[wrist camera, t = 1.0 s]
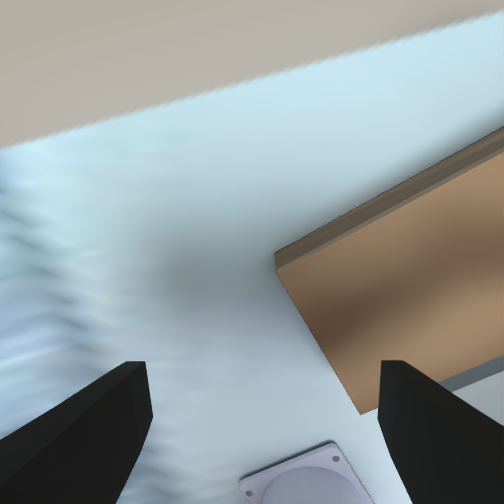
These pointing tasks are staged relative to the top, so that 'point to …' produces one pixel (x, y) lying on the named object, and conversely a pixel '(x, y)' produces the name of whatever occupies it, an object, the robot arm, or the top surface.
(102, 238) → the top surface
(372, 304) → the shelf
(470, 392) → the tray
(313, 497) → the robot arm
